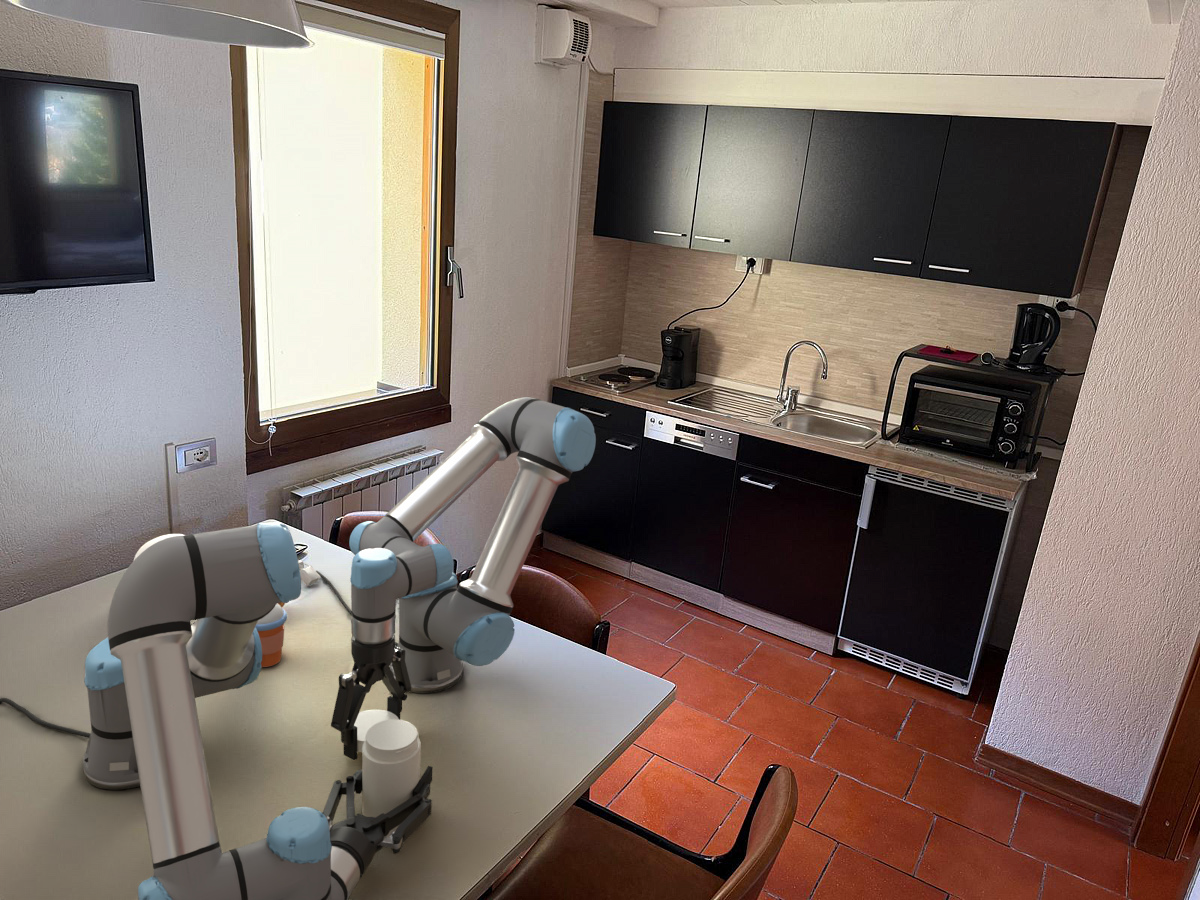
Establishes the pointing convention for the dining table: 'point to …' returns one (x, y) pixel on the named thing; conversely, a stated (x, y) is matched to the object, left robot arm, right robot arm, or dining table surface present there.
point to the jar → (389, 766)
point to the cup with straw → (272, 635)
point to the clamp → (308, 574)
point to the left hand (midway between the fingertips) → (402, 767)
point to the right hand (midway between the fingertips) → (372, 742)
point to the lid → (369, 723)
